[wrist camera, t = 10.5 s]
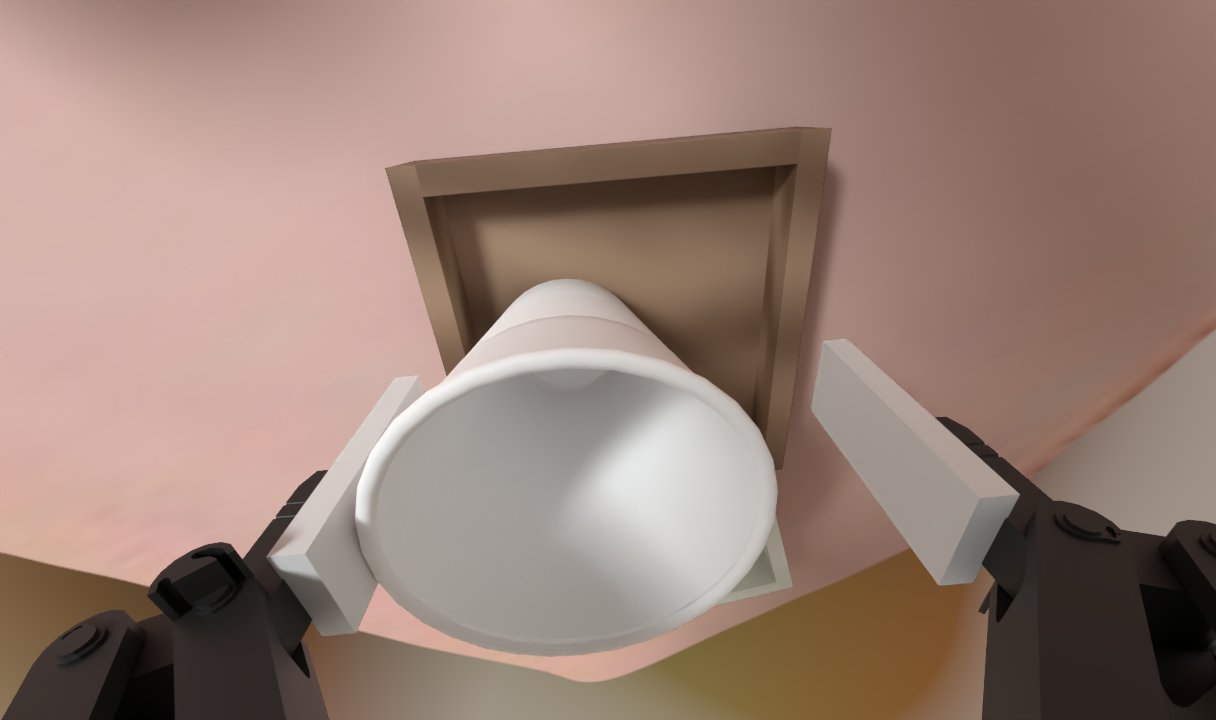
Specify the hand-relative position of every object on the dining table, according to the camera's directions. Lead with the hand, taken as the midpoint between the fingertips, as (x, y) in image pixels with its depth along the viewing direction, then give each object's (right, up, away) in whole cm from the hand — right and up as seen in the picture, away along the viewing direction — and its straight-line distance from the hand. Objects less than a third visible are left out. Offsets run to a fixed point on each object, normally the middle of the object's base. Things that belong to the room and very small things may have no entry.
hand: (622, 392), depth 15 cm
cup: (-2, +2, +6) cm, 6 cm away
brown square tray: (0, +3, +6) cm, 7 cm away
